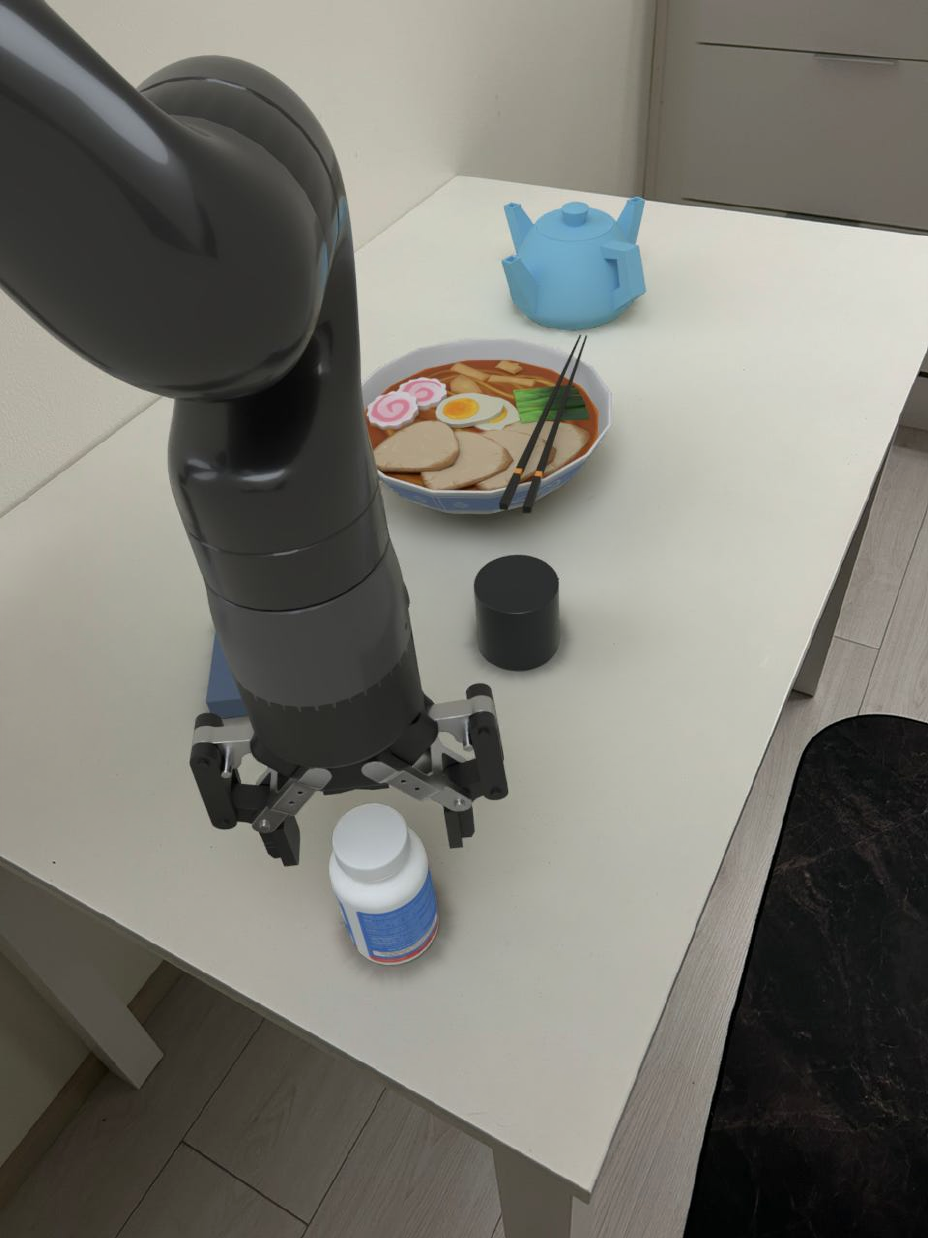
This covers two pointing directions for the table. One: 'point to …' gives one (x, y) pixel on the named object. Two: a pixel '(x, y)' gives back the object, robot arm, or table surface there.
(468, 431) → the ramen bowl
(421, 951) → the pill bottle
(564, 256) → the teapot
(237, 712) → the blue rectangular block
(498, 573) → the black cylinder
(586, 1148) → the table surface
